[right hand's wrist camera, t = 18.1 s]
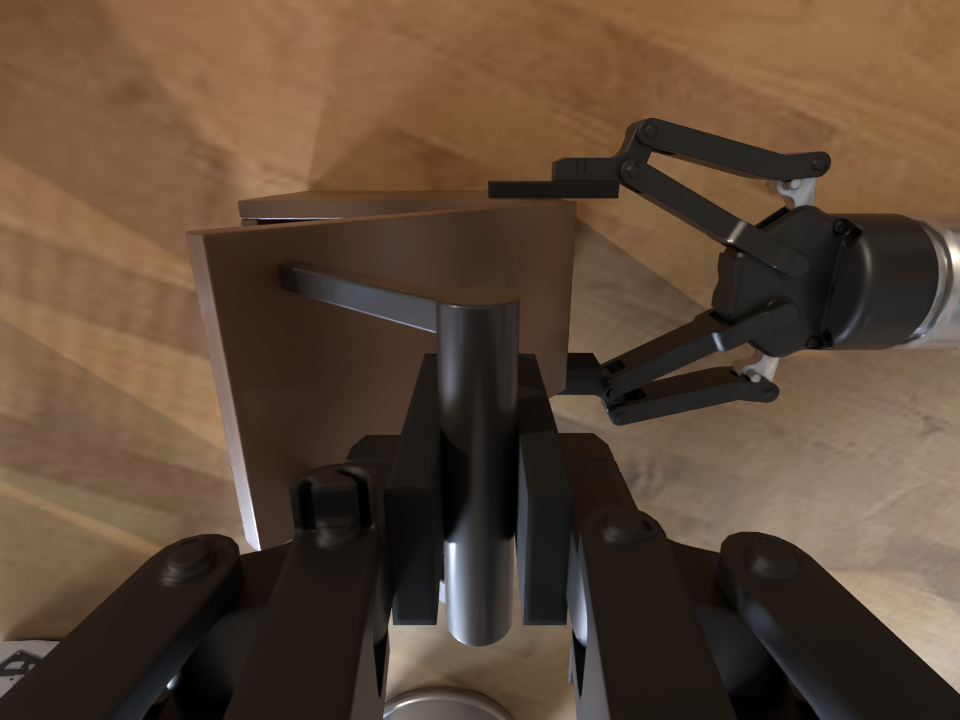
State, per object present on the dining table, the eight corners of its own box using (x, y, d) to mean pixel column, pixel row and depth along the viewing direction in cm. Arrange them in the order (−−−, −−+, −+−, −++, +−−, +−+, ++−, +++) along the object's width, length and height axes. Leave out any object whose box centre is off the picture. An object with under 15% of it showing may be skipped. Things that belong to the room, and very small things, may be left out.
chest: (320, 327, 37) (265, 383, 27) (304, 191, 34) (236, 200, 24) (535, 326, 37) (555, 382, 27) (540, 190, 34) (565, 199, 24)
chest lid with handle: (245, 540, 16) (439, 730, 11) (183, 231, 13) (420, 277, 7) (549, 384, 27) (716, 437, 22) (558, 200, 24) (757, 209, 19)
